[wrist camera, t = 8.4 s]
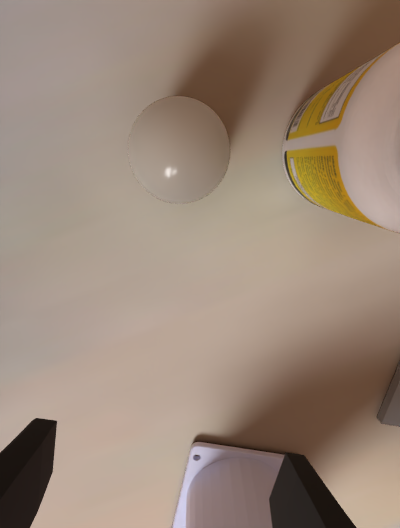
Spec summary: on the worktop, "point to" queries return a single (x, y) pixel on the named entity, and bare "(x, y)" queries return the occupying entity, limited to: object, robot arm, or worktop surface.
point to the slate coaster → (391, 403)
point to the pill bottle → (351, 144)
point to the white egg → (178, 149)
